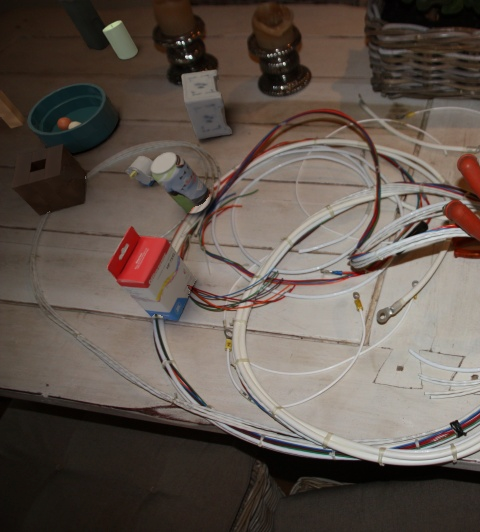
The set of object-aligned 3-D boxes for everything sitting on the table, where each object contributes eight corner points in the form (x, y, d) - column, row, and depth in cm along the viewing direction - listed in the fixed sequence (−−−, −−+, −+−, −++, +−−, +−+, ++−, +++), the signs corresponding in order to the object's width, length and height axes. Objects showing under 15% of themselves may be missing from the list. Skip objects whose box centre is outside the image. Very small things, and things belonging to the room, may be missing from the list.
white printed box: (238, 133, 114) (219, 92, 105) (199, 144, 113) (177, 104, 104) (232, 105, 119) (214, 64, 111) (195, 115, 118) (174, 75, 110)
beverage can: (216, 212, 102) (189, 166, 92) (178, 223, 101) (146, 178, 91) (213, 188, 105) (187, 142, 95) (176, 199, 105) (146, 154, 95)
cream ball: (73, 140, 117) (64, 129, 114) (74, 131, 118) (65, 120, 116) (87, 136, 117) (79, 125, 114) (87, 127, 119) (79, 117, 116)
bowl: (42, 164, 114) (23, 143, 109) (48, 116, 124) (31, 94, 119) (119, 143, 116) (104, 121, 111) (120, 97, 125) (106, 75, 120)
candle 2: (114, 56, 135) (95, 25, 128) (129, 45, 137) (112, 14, 130) (126, 62, 133) (108, 31, 126) (142, 50, 135) (125, 20, 128)
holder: (39, 215, 106) (11, 188, 99) (43, 184, 111) (17, 156, 104) (84, 203, 107) (59, 174, 100) (86, 172, 112) (63, 143, 105)
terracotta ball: (62, 136, 118) (53, 125, 115) (63, 127, 120) (54, 116, 117) (76, 132, 118) (67, 121, 116) (76, 123, 120) (68, 112, 117)
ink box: (178, 322, 89) (133, 272, 77) (151, 318, 90) (102, 269, 78) (198, 278, 93) (158, 225, 81) (172, 275, 94) (129, 223, 82)
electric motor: (127, 187, 108) (113, 169, 104) (141, 170, 110) (129, 152, 106) (154, 194, 106) (142, 176, 102) (169, 177, 108) (157, 159, 104)
